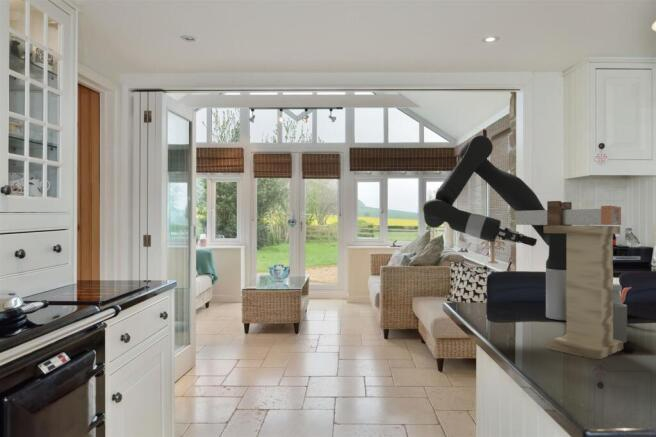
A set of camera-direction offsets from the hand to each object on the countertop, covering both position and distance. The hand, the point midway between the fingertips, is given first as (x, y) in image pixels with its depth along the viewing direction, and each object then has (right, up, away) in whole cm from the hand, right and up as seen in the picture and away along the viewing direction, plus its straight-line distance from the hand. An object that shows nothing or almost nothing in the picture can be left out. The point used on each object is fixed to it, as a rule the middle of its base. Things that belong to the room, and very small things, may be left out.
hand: (535, 242), depth 134 cm
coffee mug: (+16, -27, -8) cm, 33 cm away
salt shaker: (+33, -28, +13) cm, 45 cm away
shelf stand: (+2, -26, -20) cm, 33 cm away
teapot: (+39, -28, +30) cm, 57 cm away
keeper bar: (0, +6, -16) cm, 17 cm away
